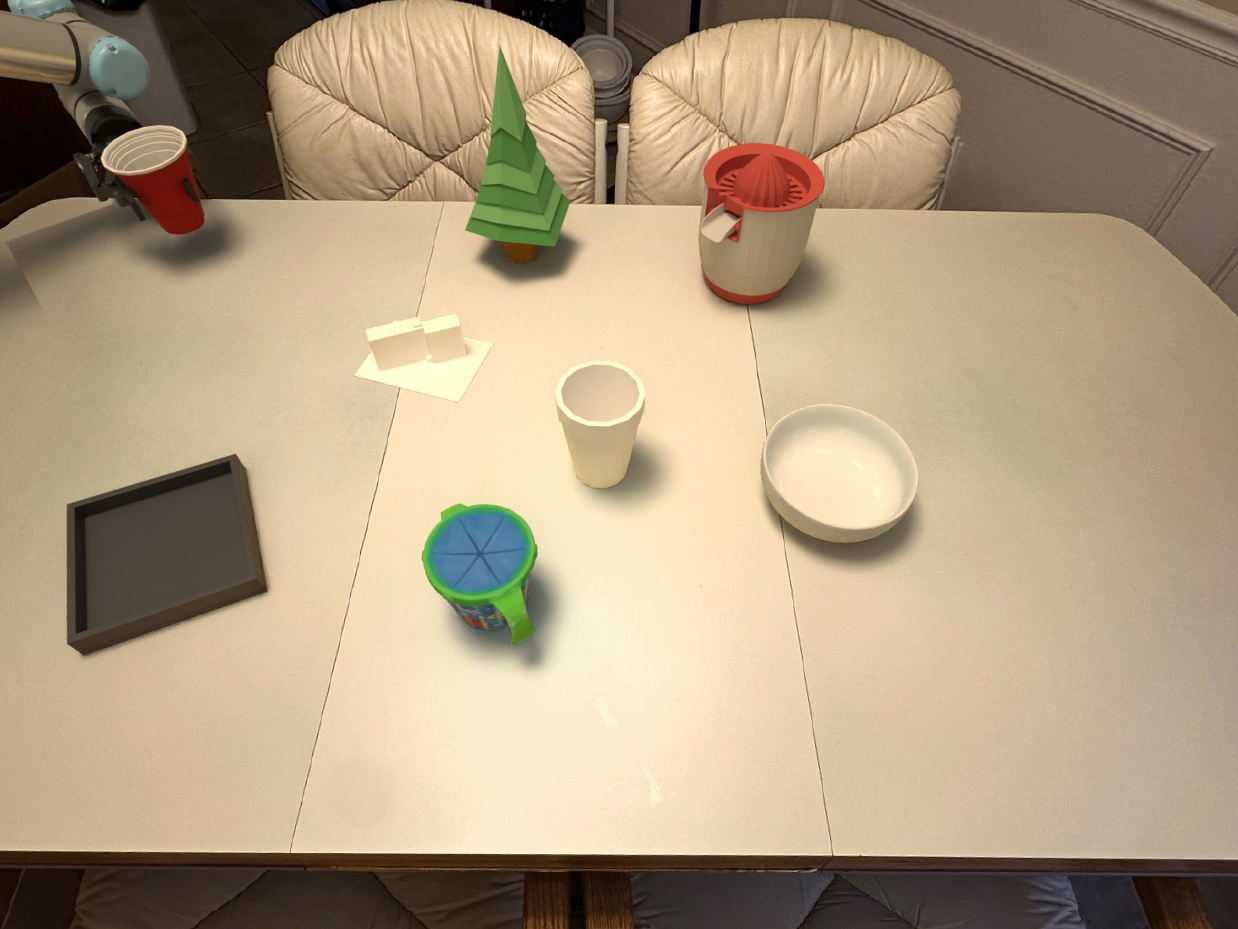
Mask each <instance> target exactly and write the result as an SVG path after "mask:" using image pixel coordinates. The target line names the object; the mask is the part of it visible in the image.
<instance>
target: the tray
mask: <svg viewBox="0 0 1238 929" xmlns="http://www.w3.org/2000/svg"><path fill="white" fill-rule="evenodd" d="M247 477H248V476H247V471H246V467H245V465H244V464H243V462H242V460H241V459H240V458H239V457H238V455H237V453H233V454H229V455H226V456H223V457H219V458H217V459H213V460H210V461H206V462H203V463H200V464H195V465H193V466H190V467H185V468H183V469H180V470H176V471H173V472H170V473H166V474H163V475H160V476H155V477H153V478H149V479H146V480H142V481H139V482H135V483H133V484H130V485H127V486H126V485H125V486H123V487H120V488H116V489H113V490H110V491H109V490H108V491H106V492H103V493H100V494H96V495H93V496H89V497H86V498H83V499H80V500H76V501H73V502H70V503H67V504H66V644H67V646H69V647H71V648H73V649H74V650H75V651H76V652H78V653H79V654H81V656H85V655H89V654H91V653H93V652H96V651H97V652H98V651H99V650H102V649H105V648H108V647H111V646H114V645H117V644H120V643H123V642H125V641H128V640H131V639H134V638H136V637H137V638H138V637H140V636H143V635H145V634H148V633H151V632H154V631H157V630H160V629H162V628H165V627H167V626H172V625H174V624H176V623H179V622H183V621H185V620H189V619H191V618H194V617H198V616H200V615H203V614H205V613H208V612H211V611H214V610H216V609H219V608H222V607H225V606H228V605H231V604H234V603H236V602H240V601H243V600H245V599H249V598H252V597H255V596H257V595H260V594H263V593H265V592H268V587H267V581H266V576H265V570H264V564H263V560H262V553H261V548H260V542H259V538H258V532H257V526H256V521H255V515H254V514H255V513H254V508H253V504H252V498H251V493H250V487H249V481H248V478H247Z"/></svg>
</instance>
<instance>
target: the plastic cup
mask: <svg viewBox="0 0 1238 929" xmlns="http://www.w3.org/2000/svg"><path fill="white" fill-rule="evenodd" d="M187 147H188V139H187V137H186V135H185V133H184V131H183V130H181V129H179V128H177V127H175V126H171V125H162V124H159V125H150V126H144V127H143V128H139V129H136V130H133V131H130V132H127V133H126V134H124V135H122V136H120V137H118V138H117V139H115V140H113V141H112V142H111V143H110V144H109V145H108V146H107V147H106V148H105V149H104V152H103V154H102V157H101V160H102V163H101V164H102V166H103V167H104V168H105V169H108V170H110V171H111V172H113V173H115V174H116V175H117V176H118V177H119V178H120V179H121V180H122V181H123V182H124V183H125V186H126V187H127V189H128V190H129V191H131V193H132V195H134V196H135V198H136V199H137V200H138V201H139V202H140V204H141V205H142V206H143V208H144V209H146V211H147V213H149V214H150V215H151V217H153V219H154V220H155V221H156V223H157V224H158V225H159V226H160V228H161V229H163V231H165V232H166V233H168V234H169V235H175V236H181V235H188V234H191V233H194V232H196V231H197V230H199V229H200V228H202V227H203V226H204V224H205V221H206V216H205V215H206V214H205V211H204V208H203V205H202V200H201V195H200V192H199V188H198V185H197V182H196V183H195V180H196V178H195V174H194V171H192V167H191V164H190V159H189V156H188V151H187ZM173 155H174V156H173ZM171 156H173V157H171ZM186 178H188V180H189V181H190V182H191V184H192V186H193V188H194V190H195V192H196V194H197V196H198V198H199V200H200V201H198V202H195V203H194V202H193V200H192V199H191V198H190V196H189V194H188V192H187V190H186V187H185V185H184V183H183V180H184V179H186Z"/></svg>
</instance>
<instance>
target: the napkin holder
mask: <svg viewBox="0 0 1238 929" xmlns="http://www.w3.org/2000/svg"><path fill="white" fill-rule="evenodd" d="M365 333H366V336H367V340H368V343H369V347H370V349H371V352H370V353H369V354H368V356H367V357H366V358H365V360H364V361H363V362H362V364H361V365H360V367H359V368H358V369H357V371H356V372H355V374H354V377H358V378H362V379H366V380H368V381H374V382H378V383H380V384H385V385H388V386H389V385H390V386H393V387H397V388H401V389H405V390H408V391H413V392H417V393H421V394H425V395H429V396H432V397H437V398H441V399H445V400H449V401H453V402H456V403H460V401H461V399H462V398H463V396H464V394H465V393H466V391H467V389H468V387H469V386H470V384H471V382H472V381H473V379H474V377H476V374H477V372H478V371H479V369H480V367H481V366H482V364H483V362H484V361H485V359H486V358H487V355H488V354H489V352H490V351H491V349H492V347H493V345H494V343H493V342H488V341H485V340H481V339H480V340H479V339H475V338H471V337H467V336H464V335H463V329H462V325H461V321H460V319H459V317H458V315H457V313H452V314H448V315H444V316H440V317H436V318H432V319H427V320H424V321H421V317H420V316H415V317H411V318H406V319H402V320H393V321H392V322H391V323H387V324H382V325H378V326H374V327H370V328H366V329H365Z"/></svg>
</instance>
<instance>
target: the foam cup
mask: <svg viewBox="0 0 1238 929" xmlns="http://www.w3.org/2000/svg"><path fill="white" fill-rule="evenodd" d="M557 383H558V384H557V385H556V387H555V390H554V394H555V406H556V411H557V418H558V421H559V422H560V423H561V426H562V430H563V433H564V437H565V441H566V445H567V448H568V452H569V456H570V460H571V463H572V467H573V470H574V473H575V476H576V477H577V478H578V479H579V481H580V482H581V483H582V484H584V485H586V486H588V487H591V488H593V489H608V488H611V487H614V486H616V485H617V484H619V483H620V482H621V481H622V480H623V479H624V478H625V477H626V474H627V470H628V469H629V464H630V460H631V457H632V452H633V449H634V445H635V441H636V437H637V433H638V430H639V425H640V424H641V421H642V418H643V415H644V412H645V408H646V407H645V406H646V391H645V388H644V383H643V381H642V379H641V377H640V376H638V375H637V374H636V373H635V372H634V371H633V370H632V369H631V368H630V367H628V366H625V365H622V364H620V363H618V362H616V361H611V360H591V361H587V362H583V363H580V364H577V365H574V366H573V367H571V368H570V369H568V371H567V372H564V374H563V375H561V376H560V378H559V381H558V382H557Z"/></svg>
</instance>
